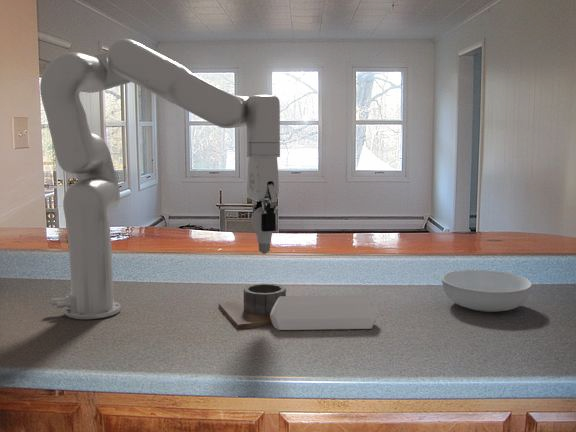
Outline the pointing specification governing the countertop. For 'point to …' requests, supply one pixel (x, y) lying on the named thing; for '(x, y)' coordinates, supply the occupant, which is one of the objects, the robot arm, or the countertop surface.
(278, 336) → the countertop surface
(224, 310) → the socket
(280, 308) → the crystal
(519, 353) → the countertop surface
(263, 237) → the lightbulb
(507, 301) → the serving bowl
